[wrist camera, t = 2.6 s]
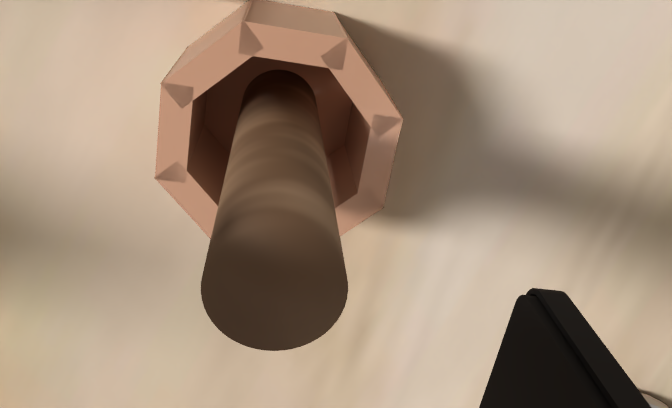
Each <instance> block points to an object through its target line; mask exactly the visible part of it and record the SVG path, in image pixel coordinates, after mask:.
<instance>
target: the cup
mask: <svg viewBox="0 0 672 408" xmlns="http://www.w3.org/2000/svg"><path fill="white" fill-rule="evenodd" d="M270 70H287V71H291V72H293V73H296V74H297V75H299V76H301V77H302V78H303V79H304V80H305V81H306V82H307V83H308V84H309V85H310V87H311V88H312V90H313V92H314V95H315V98H316V104H317V110H318V115H319V121H320V127H321V133H322V138H323V144H324V150H325V155H326V161H327V167H328V172H329V178H330V184H331V190H332V195H333V201H334V207H335V212H336V218H337V224H338V229H339V235H340V236H341V235H343V234H344V233H346V232H347V231H349V230H350V229H352V228H353V227H355V226H356V225H358V224H359V223H361V222H362V221H364V220H365V219H367V218H369V217H370V216H372V215H373V214H375V213H376V212H378V211H379V210H381V209H383V208H384V202H385V198H386V193H387V189H388V184H389V180H390V175H391V171H392V166H393V162H394V157H395V153H396V148H397V144H398V139H399V135H400V130H401V126H402V121H403V117H402V116H401V114H400V112H399V111H398V109H397V107H396V105H395V104H394V102H393V100H392V99H391V97H390V95H389V94H388V92H387V90H386V89H385V87H384V85H383V84H382V82H381V80H380V79H379V77H378V76H377V75H376V74H375V72H374V71H373V69H372V68H371V66H370V65H369V63H368V62H367V60H366V59H365V57H364V56H363V54H362V53H361V52H360V50H359V49H358V47H357V46H356V44H355V43H354V41H353V40H352V38H351V37H350V35H349V34H348V33H347V31H346V30H345V28H344V27H343V25H342V24H341V22H340V21H339V19H338V18H337V16H336V14H335V12H330V11H324V10H318V9H312V8H306V7H301V6H295V5H289V4H283V3H277V2H271V1H266V0H249V1H248V2H246V3H245V4H244V5H242V6H241V7H240V8H238V9H237V10H236V11H235V12H233V13H232V14H231V15H229V16H228V17H227V18H225V19H224V20H223V21H222V22H220V23H219V24H218V25H216V26H215V27H214V28H212V29H211V30H210V31H209V32H207V33H206V34H205V35H203V36H202V37H201V38H199V39H198V40H197V41H195V42H194V43H193V44H192V45H190V46H189V47H187V48H186V50H185V51H184V52H183V54H182V55H181V56H180V58H179V59H178V60H177V62H176V63H175V64H174V66H173V67H172V68H171V70H170V71H169V72H168V74H167V75H166V77H165V78H164V79H163V81H162V82H161V95H160V111H159V126H158V141H157V157H156V172H155V177H154V178H155V179H156V180H157V181H158V182H159V183H160V184H161V185H162V186H163V187H164V189H165V190H166V191H167V192H168V193H169V194H170V195H171V196H172V197H173V198H174V199H175V201H176V202H177V203H178V204H179V205H180V206H181V207H182V208H183V209H184V210H185V211H186V213H187V214H188V215H189V216H190V217H191V218H192V219H193V220H194V221H195V222H196V224H197V225H198V226H199V227H200V228H201V229H202V230H203V231H204V232H205V233H206V234H207V236H208V237H209V238H210V239H211V236H212V231H213V227H214V223H215V218H216V214H217V209H218V205H219V201H220V196H221V192H222V187H223V183H224V179H225V174H226V170H227V165H228V161H229V157H230V152H231V148H232V143H233V139H234V135H235V130H236V126H237V121H238V117H239V112H240V108H241V104H242V99H243V95H244V92H245V90H246V88H247V86H248V85H249V83H250V82H251V81H252V80H253V79H254V78H256V77H257V76H258V75H260V74H262V73H264V72H267V71H270Z"/></svg>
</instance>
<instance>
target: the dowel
mask: <svg viewBox="0 0 672 408" xmlns="http://www.w3.org/2000/svg"><path fill="white" fill-rule="evenodd" d="M347 294H348V281H347V275H346V269H345V264H344V258H343V252H342V247H341V241H340V235H339V229H338V224H337V218H336V212H335V207H334V201H333V195H332V190H331V184H330V178H329V172H328V167H327V161H326V155H325V150H324V144H323V138H322V133H321V127H320V121H319V115H318V110H317V104H316V98H315V95H314V92H313V90H312V88H311V87H310V85H309V84H308V83H307V82H306V81H305V80H304V79H303V78H302V77H301V76H299V75H297V74H296V73H293V72H291V71H287V70H270V71H267V72H264V73H262V74H260V75H258V76H257V77H256V78H254V79H253V80H252V81H251V82H250V83H249V85H248V86H247V88H246V90H245V92H244V95H243V99H242V104H241V108H240V112H239V117H238V121H237V126H236V130H235V135H234V139H233V143H232V148H231V152H230V157H229V161H228V165H227V170H226V174H225V179H224V183H223V187H222V192H221V196H220V201H219V205H218V209H217V214H216V218H215V223H214V227H213V231H212V236H211V240H210V245H209V249H208V253H207V258H206V262H205V267H204V271H203V276H202V281H201V295H202V301H203V304H204V308H205V310H206V312H207V314H208V316H209V318H210V319H211V321H212V322H213V323H214V324H215V326H216V327H217V328H218V329H219V330H220V331H221V332H222V333H224V334H225V335H226V336H228V337H229V338H231V339H232V340H234V341H236V342H238V343H240V344H242V345H245V346H248V347H251V348H255V349H260V350H270V351H278V350H288V349H293V348H297V347H300V346H303V345H306V344H308V343H310V342H312V341H314V340H316V339H318V338H319V337H320V336H322V335H323V334H325V333H326V332H327V331H328V330H329V329H330V328H331V327H332V326H333V325H334V324H335V322H336V321H337V320H338V318H339V317H340V315H341V313H342V311H343V309H344V307H345V303H346V300H347Z"/></svg>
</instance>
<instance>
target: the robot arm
mask: <svg viewBox="0 0 672 408" xmlns="http://www.w3.org/2000/svg"><path fill="white" fill-rule="evenodd" d="M479 408H669V407H668V406H667V405H666V404H664V403H663V402H661V401H659V400H657V399H655V398H653V397H651V396H649V395H646V394H643V393H640V391H639V390H638V389H637V387H636V386H635V385H634V383H633V382H632V381H631V379H630V378H629V377H628V375H627V374H626V373H625V371H624V370H623V369H622V367H621V366H620V365H619V363H618V362H617V361H616V359H615V358H614V357H613V355H612V354H611V353H610V351H609V350H608V349H607V347H606V346H605V345H604V343H603V342H602V341H601V339H600V338H599V337H598V335H597V334H596V333H595V331H594V330H593V329H592V327H591V326H590V325H589V323H588V322H587V321H586V319H585V318H584V317H583V315H582V314H581V313H580V311H579V310H578V309H577V307H576V306H575V305H574V303H573V302H572V301H571V299H570V298H569V297H568V295H567V294H566V293H565V292H562V291H555V290H546V289H536V288H532V289H530V290H529V291H528V292H527V294H526V295H521V296H519V297H518V299H517V301H516V303H515V306H514V309H513V311H512V314H511V317H510V320H509V323H508V326H507V329H506V332H505V335H504V338H503V340H502V343H501V346H500V349H499V352H498V355H497V358H496V361H495V364H494V367H493V369H492V372H491V375H490V378H489V381H488V384H487V387H486V390H485V393H484V395H483V398H482V401H481V404H480V407H479Z"/></svg>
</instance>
